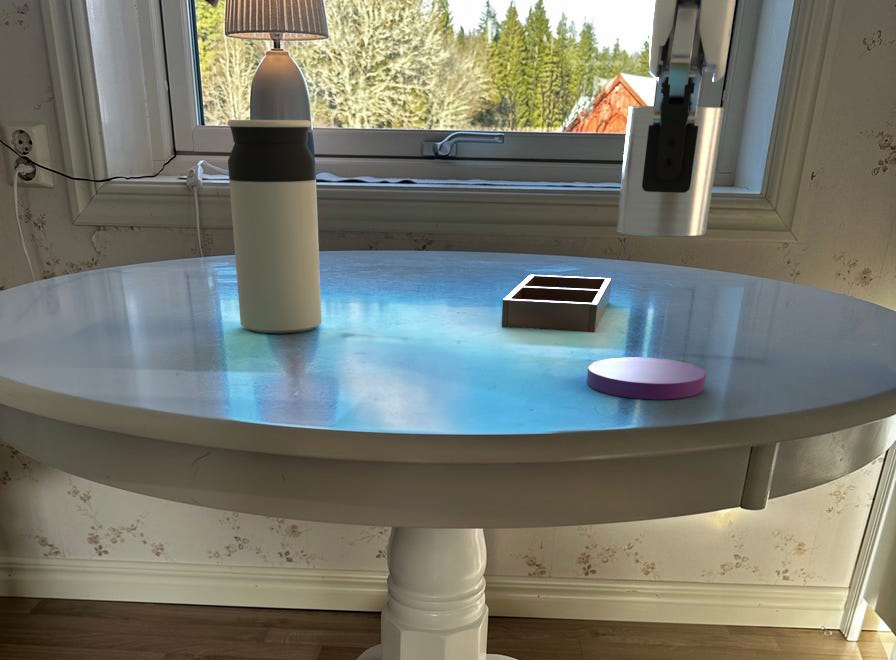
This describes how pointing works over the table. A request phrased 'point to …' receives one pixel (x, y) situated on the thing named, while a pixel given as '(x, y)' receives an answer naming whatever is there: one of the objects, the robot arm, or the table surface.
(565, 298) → the divided storage tray
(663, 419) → the table surface
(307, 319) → the travel mug
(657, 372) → the purple lid
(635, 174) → the brushed metal canister
